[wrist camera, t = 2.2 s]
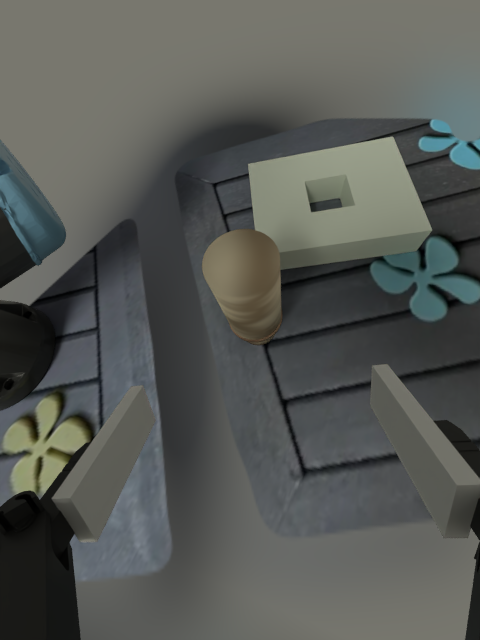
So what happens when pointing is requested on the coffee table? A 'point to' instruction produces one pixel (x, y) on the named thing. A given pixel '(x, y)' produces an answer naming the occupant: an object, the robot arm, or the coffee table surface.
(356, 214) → the sage board
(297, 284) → the coffee table surface
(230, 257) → the tan wooden cylinder
